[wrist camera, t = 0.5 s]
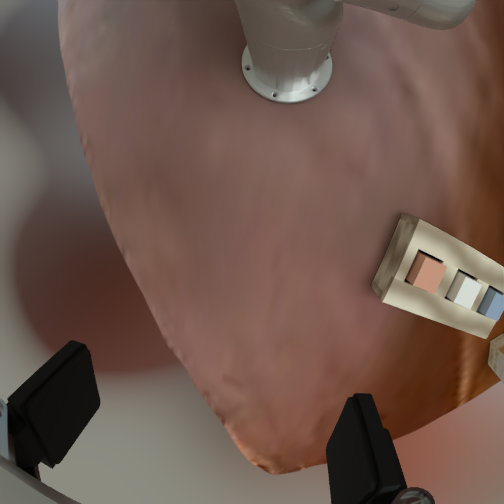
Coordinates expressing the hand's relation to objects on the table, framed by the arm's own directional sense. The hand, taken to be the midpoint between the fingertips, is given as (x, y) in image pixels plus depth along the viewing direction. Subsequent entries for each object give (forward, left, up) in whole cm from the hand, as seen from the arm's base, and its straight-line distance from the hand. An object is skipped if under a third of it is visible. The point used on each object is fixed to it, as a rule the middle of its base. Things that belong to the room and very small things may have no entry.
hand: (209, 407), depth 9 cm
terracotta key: (-4, +22, -30) cm, 37 cm away
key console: (-4, +30, -34) cm, 46 cm away
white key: (-4, +30, -30) cm, 43 cm away
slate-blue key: (-4, +38, -30) cm, 49 cm away
